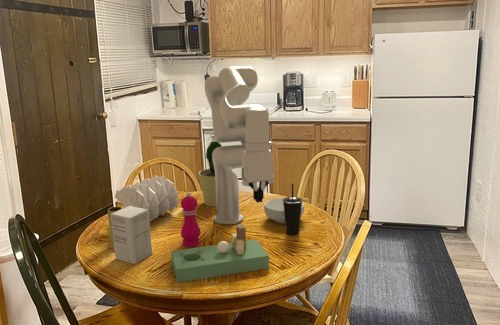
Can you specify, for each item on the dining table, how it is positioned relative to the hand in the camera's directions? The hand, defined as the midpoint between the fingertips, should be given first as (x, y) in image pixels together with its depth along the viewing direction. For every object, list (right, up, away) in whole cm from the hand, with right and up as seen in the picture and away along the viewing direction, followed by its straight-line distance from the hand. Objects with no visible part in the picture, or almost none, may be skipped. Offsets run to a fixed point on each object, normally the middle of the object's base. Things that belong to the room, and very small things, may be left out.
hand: (258, 201), depth 154 cm
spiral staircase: (-45, -11, +47) cm, 66 cm away
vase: (-52, -18, +20) cm, 58 cm away
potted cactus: (-19, -6, +66) cm, 68 cm away
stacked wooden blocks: (-6, -16, +2) cm, 17 cm away
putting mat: (-13, -22, +1) cm, 25 cm away
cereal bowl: (+11, -11, +42) cm, 45 cm away
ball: (-12, -15, 0) cm, 19 cm away
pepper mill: (-25, -18, +19) cm, 36 cm away
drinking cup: (+14, -15, +27) cm, 34 cm away
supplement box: (-44, -20, +10) cm, 49 cm away
